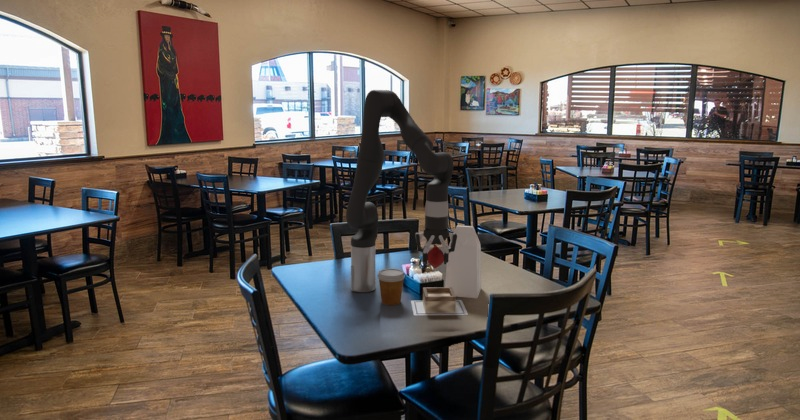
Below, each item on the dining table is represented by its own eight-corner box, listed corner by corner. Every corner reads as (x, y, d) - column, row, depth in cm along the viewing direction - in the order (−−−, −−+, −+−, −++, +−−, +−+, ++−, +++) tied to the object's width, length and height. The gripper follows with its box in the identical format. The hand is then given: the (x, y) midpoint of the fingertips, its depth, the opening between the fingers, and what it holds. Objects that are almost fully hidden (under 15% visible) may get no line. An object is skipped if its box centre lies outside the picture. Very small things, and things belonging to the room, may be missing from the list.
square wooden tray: (425, 312, 183) (425, 297, 182) (422, 302, 193) (422, 287, 192) (455, 312, 183) (455, 296, 182) (451, 302, 193) (451, 287, 192)
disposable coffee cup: (389, 298, 200) (389, 266, 198) (410, 304, 194) (410, 271, 192) (371, 305, 193) (371, 272, 190) (392, 312, 187) (392, 278, 185)
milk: (481, 291, 208) (483, 224, 204) (477, 301, 197) (479, 230, 193) (449, 288, 211) (451, 222, 207) (444, 298, 201) (445, 228, 196)
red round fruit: (443, 265, 186) (443, 242, 185) (444, 270, 181) (445, 247, 179) (425, 265, 186) (426, 242, 185) (426, 270, 181) (427, 246, 179)
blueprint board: (413, 318, 181) (413, 315, 181) (410, 303, 195) (410, 300, 194) (468, 318, 182) (468, 314, 182) (461, 303, 195) (461, 299, 195)
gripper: (415, 216, 176) (414, 266, 179) (460, 216, 177) (458, 267, 180) (414, 211, 184) (413, 260, 187) (457, 211, 184) (455, 260, 187)
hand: (435, 263), depth 183 cm, fingers closed on red round fruit, 6 cm apart
